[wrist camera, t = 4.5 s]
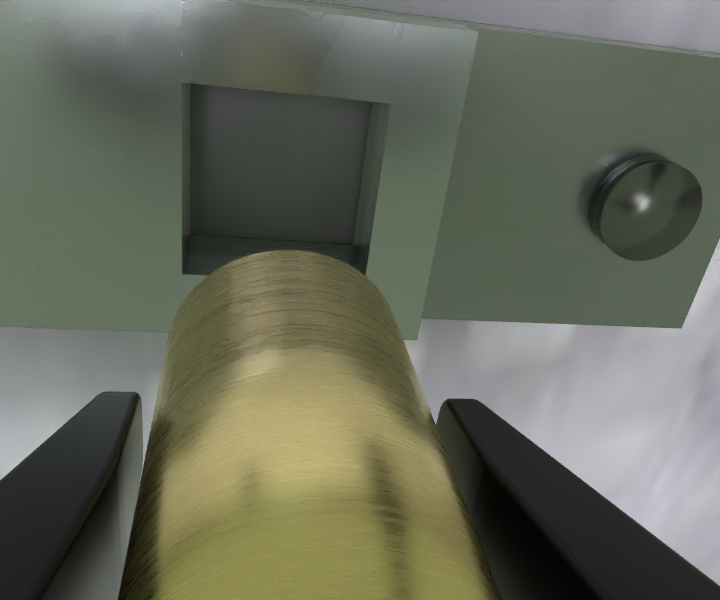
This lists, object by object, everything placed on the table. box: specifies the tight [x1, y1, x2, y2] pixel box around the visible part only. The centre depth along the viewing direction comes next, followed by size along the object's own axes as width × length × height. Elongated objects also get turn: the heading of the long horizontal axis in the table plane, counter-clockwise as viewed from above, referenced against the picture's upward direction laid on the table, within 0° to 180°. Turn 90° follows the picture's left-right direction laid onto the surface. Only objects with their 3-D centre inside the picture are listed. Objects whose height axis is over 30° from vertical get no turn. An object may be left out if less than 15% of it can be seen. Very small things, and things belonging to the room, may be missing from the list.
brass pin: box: [118, 250, 502, 600], centre depth 6 cm, size 4×4×7 cm
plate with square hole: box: [0, 0, 720, 340], centre depth 16 cm, size 26×8×3 cm, turn 83°
